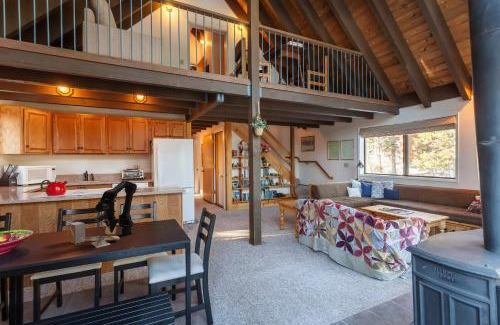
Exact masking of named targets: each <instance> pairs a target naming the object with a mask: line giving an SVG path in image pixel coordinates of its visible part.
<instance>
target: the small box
mask: <svg viewBox="0 0 500 325" xmlns="http://www.w3.org/2000/svg"><path fill="white" fill-rule="evenodd" d="M68 225H69V226H68V228H69V233H68V234H69V236H68V237H69V238H68V239H69V242H68V243H71V244H75V245H77V243H78V244H82V243H85V242H86V241H82V240H81V239H80V237H86V224H85V222H82V221H75V222H71V223H69V224H68ZM81 242H82V243H81Z"/></svg>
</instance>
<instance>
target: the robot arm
mask: <svg viewBox="0 0 500 325" xmlns="http://www.w3.org/2000/svg"><path fill="white" fill-rule="evenodd" d="M137 189H138V185H137V184H136V183H135V182H132V181H129V180H121V181H120V182H119V183H118V184H117V185H116V186H114V187H113V188H111V189H110V188H109V189H106V190H105V191H104V192H103V194H102V196H101V198H100V200H99V201H98V202H97V204H96V205H95V206H94V207H95V208H94V209H95V211H96V212H97V213H102V214H98V215H97V216H95V217H94V218H95V220H96V221H97V223H101V222H103V223H104V224H105V227H106V226H109V227H110V232H111V233H112V232H113V230H114V228H115V227H117V224H118V227H120V235H121V236H123V237H125V236H129V235H132V234H133V233H132V227H133V226H134V221H133V220H132V215H131V208H132V204H133V197H134V194H135V193H136V192H137ZM123 190H124V192H125V198H124V204H123V208H122V213H121V214H119V215H118V218H117V216H116V214H115V213H116V208H115V203H116V202H117V200H116V199H117V197H118V194H119V193H121V191H123Z"/></svg>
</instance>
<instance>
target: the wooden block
mask: <svg viewBox="0 0 500 325" xmlns="http://www.w3.org/2000/svg"><path fill="white" fill-rule="evenodd" d="M116 233H117V226H115V228H114V230H113V232H112V233H111V232H110V227H109V226H106V225H105V231H104V234H106V235H116Z"/></svg>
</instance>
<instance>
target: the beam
mask: <svg viewBox="0 0 500 325" xmlns="http://www.w3.org/2000/svg"><path fill="white" fill-rule="evenodd" d="M102 238H104V240H105V241H113V240H114V241H115V240H117V241H118V240H120V237H119V236H118V235H108V236H106V235H105V236H103V235H102V236H101V235H100V237H97V236H85V237H80V239H81V240H82V241H85V242H90V241H91V242H93V241H94V242H96V241H97V240H102Z"/></svg>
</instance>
